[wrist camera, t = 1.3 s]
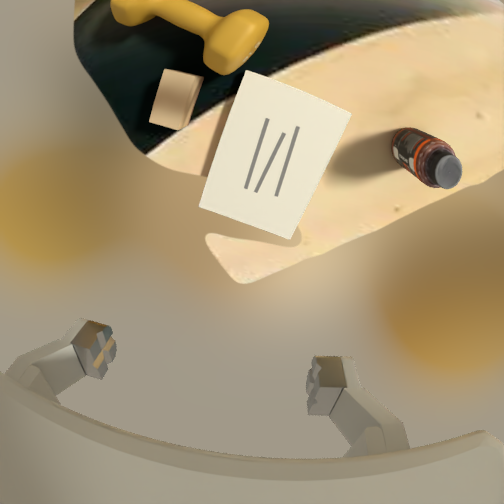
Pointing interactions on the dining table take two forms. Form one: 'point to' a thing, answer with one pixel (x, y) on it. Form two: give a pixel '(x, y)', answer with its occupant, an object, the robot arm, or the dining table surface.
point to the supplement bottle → (427, 158)
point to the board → (272, 154)
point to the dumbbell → (202, 28)
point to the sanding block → (175, 99)
